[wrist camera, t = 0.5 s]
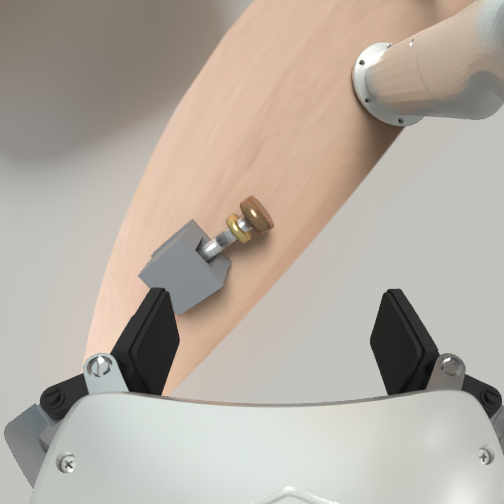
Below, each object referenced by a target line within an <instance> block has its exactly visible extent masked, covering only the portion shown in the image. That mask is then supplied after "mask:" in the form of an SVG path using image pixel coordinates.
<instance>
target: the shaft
mask: <svg viewBox="0 0 504 504" xmlns="http://www.w3.org/2000/svg"><path fill="white" fill-rule="evenodd" d="M240 208H241V211H242V213H243V216H242V217H241V218H240V217H239V216H238V215H237V214H232V215H231V216H229V217H228V218H227V219H226V223H227V225H228V227H227V228H226V229H225V230H223V231H222V232H221V233H220V234H218V235H217V236H216V237H214V238H213V239H212V240H210V241H209V242H208V243H206V244H205V245H204V246H203V247H201V248H200V249H199V250H197V251H196V252H197V253H198V254H199V255H200V256H201V257H202V258H203V259H204V260H205V261H206V262H207V261H208V260H209V259H211V258H212V257H213V256H215V255H216V254H217V253H219V252H220V251H222V250H223V249H224V248H226V247H227V246H228V245H230V244H231V243H233V242H234V241H235V240H237V239H238V240H239V241H240V242H242V243H246V242H247V241H248V240H250V239H251V238H252V235H251V232H250V229H252V228H254V229H255V230H256V231H257V232H258V233H260V234H262V235H263V234H265V233H266V232H268V231H269V230H271V229H272V228H273V227H274V223H273V221H272V219H271V217H270V215H269V214H268V212H267V211H266V209H265V208H264V207H263V205H262V204H261V203H260V202H259V201H258V200H257V199H256V198H255V197H253V196H249V197H248V198H247V199H245V200H244V201H243V202H241V203H240Z"/></svg>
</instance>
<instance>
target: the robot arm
mask: <svg viewBox="0 0 504 504" xmlns="http://www.w3.org/2000/svg"><path fill="white" fill-rule="evenodd" d="M387 47H388V48H387ZM359 62H360V63H361V64H362V65H360V64H359ZM352 81H353V86H354V90H355V92H356V94H357V97H358V99H359V100H360V102H361V103H362V105H363V106H364V107H365V109H366V110H367V111H368V112H369V113H370V114H371V115H373V116H374V117H375V118H377V119H378V120H380V121H382V122H384V123H387V124H389V125H394V126H409V125H412V124H415V123H417V122H419V121H420V120H422V118H423V117H424V116H431V117H447V118H458V119H471V120H480V119H485V118H488V117H490V116H492V115H493V114H495V113H496V112H497V111H498V110H499V109H500V107H501V106H502V105H503V103H504V0H476V1H475V2H473V3H472V4H471V5H469V6H468V7H466V8H465V9H463V10H462V11H460V12H459V13H457V14H455V15H453V16H451V17H449V18H447V19H445V20H443V21H442V22H440V23H437V24H435V25H433V26H431V27H429V28H427V29H425V30H422V31H420V32H418V33H416V34H414V35H412V36H410V37H408V38H406V39H404V40H403V41H401V42H399V43H397V44H393V43H385V42H382V43H375V44H373V45H370V46H368V47H367V48H365V49H364V50H363V51H362V52H361V53H360V54H359V55H358V57H357V58H356V60H355V62H354V65H353V71H352ZM365 99H366V100H367V103H366V102H365ZM398 119H399V120H400V122H399V121H398ZM179 341H180V338H179V333H178V329H177V325H176V320H175V316H174V311H173V306H172V302H171V297H170V293H169V292H168V291H166V290H165V288H158V287H152V288H151V289H150V291H149V292H148V294H147V295H146V297H145V299H144V300H143V302H142V303H141V305H140V307H139V308H138V310H137V312H136V313H135V315H133V316H132V317H131V319H130V321H129V322H128V324H127V326H126V327H125V329H124V331H123V332H122V334H121V336H120V337H119V339H118V341H117V343H116V344H115V346H114V348H113V349H112V351H111V353H110V354H107V353H99V354H95V355H93V356H91V357H90V358H89V359H87V361H86V362H85V363H84V366H83V373H82V374H80V375H78V376H75V377H73V378H71V379H68V380H66V381H63V382H61V383H58V384H56V385H53V386H51V387H49V388H47V389H46V390H45V391H44V392H43V394H42V395H41V398H40V404H39V405H36V404H34V405H32V406H31V407H29V408H28V409H27V410H25V411H24V412H23V413H21V414H20V415H19V416H17V417H16V418H15V419H14V420H12V421H11V422H9V423H8V424H7V426H6V427H5V430H4V436H5V440H6V442H7V444H8V446H9V448H10V450H11V452H12V453H13V456H14V457H15V459H16V461H17V463H18V465H19V466H20V468H21V470H22V471H23V473H24V475H25V477H26V478H27V480H28V482H29V483H30V485H31V486H32V488H33V493H32V496H31V499H30V503H29V504H504V406H503V405H502V398H501V395H500V393H499V392H498V390H497V389H495V388H494V387H492V386H490V385H488V384H486V383H483V382H481V381H479V380H477V379H475V378H473V377H470V376H468V375H466V374H465V371H466V370H465V368H466V367H465V365H464V363H463V361H462V360H461V359H460V358H459V357H457V356H456V355H453V354H449V353H445V354H442V355H440V354H439V352H438V348H437V347H436V345H435V343H434V341H433V340H432V338H431V336H430V335H429V333H428V332H427V330H426V328H425V326H424V325H423V323H422V322H421V320H420V319H419V316H418V315H417V313H416V312H415V310H414V309H413V307H412V305H411V304H410V303H409V301H408V299H407V298H406V296H405V295H404V293H403V292H402V290H401V289H388V290H387V292H386V293H384V294H383V296H382V300H381V304H380V307H379V311H378V315H377V318H376V321H375V325H374V328H373V331H372V334H371V338H370V345H371V348H372V351H373V353H374V356H375V359H376V362H377V364H378V367H379V370H380V373H381V376H382V379H383V382H384V385H385V388H386V391H387V394H388V396H381V397H374V398H366V399H358V400H348V401H337V402H323V403H304V404H247V403H246V404H245V403H227V402H213V401H202V400H192V399H183V398H175V397H167V396H161V395H162V392H163V389H164V386H165V383H166V380H167V377H168V374H169V371H170V368H171V365H172V363H173V360H174V357H175V354H176V351H177V349H178V346H179Z"/></svg>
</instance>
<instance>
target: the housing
mask: <svg viewBox="0 0 504 504" xmlns="http://www.w3.org/2000/svg"><path fill="white" fill-rule="evenodd" d="M210 240H211V239H210V238H209V237H208V236H207V235H206V233H205V232H204V231H203V230H202V229H201V228H200V227H199V226H198V225H197V223H196V222H195V221H194V220H193V219H192V220H190V221H189V222H188V223H187V224H186V225H184V226H183V227H182V228H181V229H180V230H179V231H177V232H176V233H175V234H174V235H173V236H172V237H170V238H169V239H168V240H167V241H166V242H165V243H164V244H162V245H161V246H160V247H159V248H158V249H157V250H156V251H155V252H154V253H153V254H152V255H151V257H152V258H151V259H150V261H149V262H148V263H147V265H146V266H145V267H144V269H143V270H142V271H141V272H140V274H139V275H138V276H139V277H140V278H141V280H142V281H143V282H144V283H145V284H146V285H147V286H148V287H149V288H150V289H151V288H152V287H158V288H165V290H166V291H168V292H169V293H170V297H171V302H172V306H173V311H174V312H175V313H176V314H177V315H178V316H179V315H181V314H182V313H184V312H185V311H187V310H188V309H190V308H191V307H193V306H194V305H196V304H197V303H199V302H200V301H202V300H203V299H205V298H206V297H208V296H210V295H211V294H213V293H214V292H216V291H217V290H219V289H220V288H222V287H223V285H224V282H225V278H226V275H227V271H228V268H230V266H231V261H230V260H229V259H228V258H227V257H226V256H225V255H224V253H223V252H222V251H220V252H219V253H217V254H216V255H215V256H213V257H212V258H211V259H209V260H208V261H207V262H206V261H205V260H204V259H203V258H202V257H201V256H200V255H199V254H198V253H197V252H196V251H197V250H199V249H200V248H201V247H203V246H204V245H205V244H206V243H208V242H209V241H210Z"/></svg>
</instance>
